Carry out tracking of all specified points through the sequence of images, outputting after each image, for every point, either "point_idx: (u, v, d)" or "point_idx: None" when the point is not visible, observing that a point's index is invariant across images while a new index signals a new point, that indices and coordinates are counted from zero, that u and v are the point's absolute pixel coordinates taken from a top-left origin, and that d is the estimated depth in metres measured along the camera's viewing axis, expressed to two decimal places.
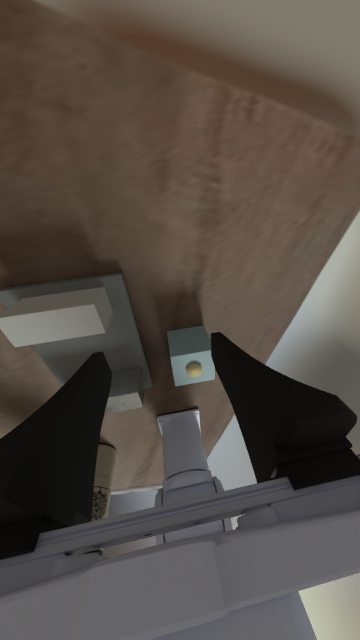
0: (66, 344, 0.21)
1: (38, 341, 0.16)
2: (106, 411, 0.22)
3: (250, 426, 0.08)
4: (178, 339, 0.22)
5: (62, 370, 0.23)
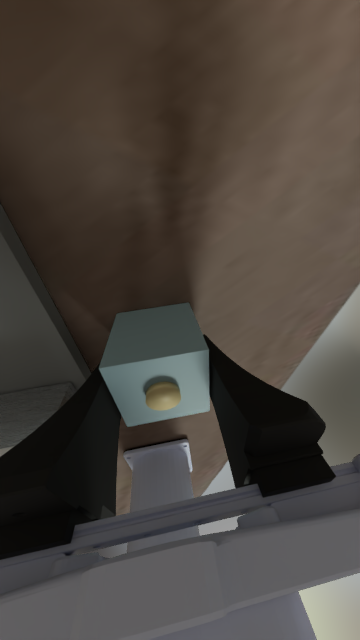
0: None
1: None
2: None
3: (227, 431, 0.08)
4: (132, 328, 0.10)
5: None
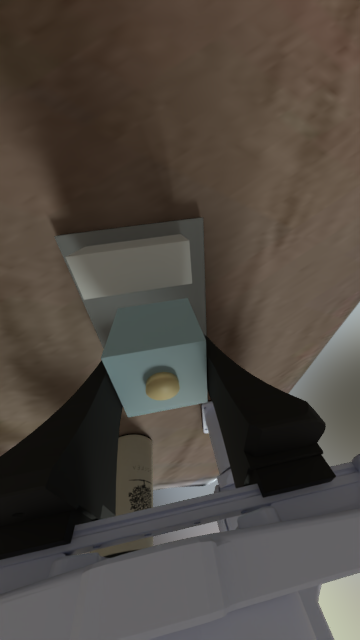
0: None
1: (112, 292, 0.13)
2: None
3: (227, 431, 0.08)
4: (133, 321, 0.11)
5: None
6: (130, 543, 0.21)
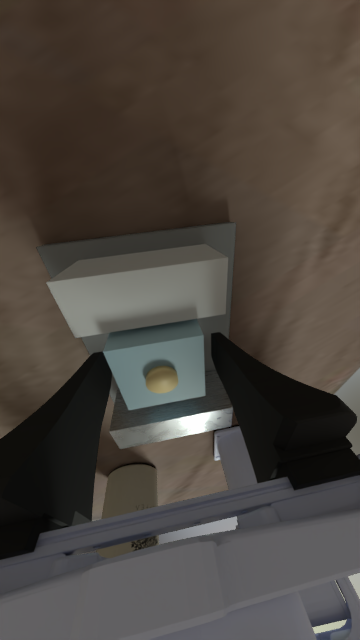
0: None
1: (116, 327, 0.09)
2: (181, 433, 0.15)
3: (250, 426, 0.08)
4: None
5: None
6: None
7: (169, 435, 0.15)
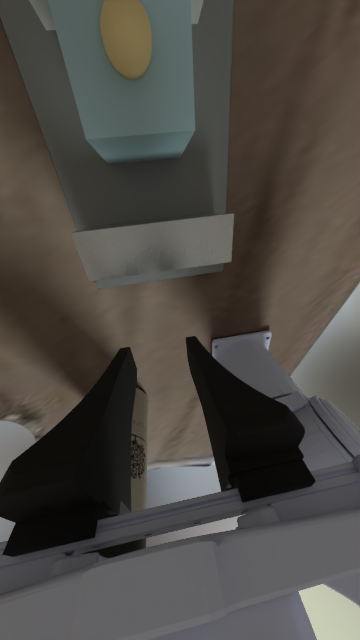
0: None
1: None
2: (168, 263, 0.12)
3: (213, 434, 0.08)
4: None
5: (86, 201, 0.13)
6: None
7: (152, 263, 0.12)
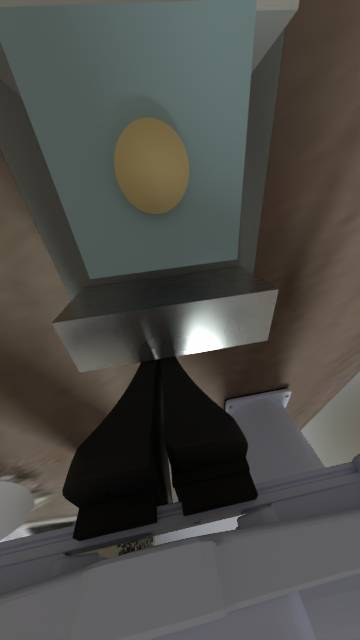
0: None
1: (37, 0, 0.04)
2: (185, 347, 0.09)
3: None
4: None
5: None
6: None
7: (164, 348, 0.09)
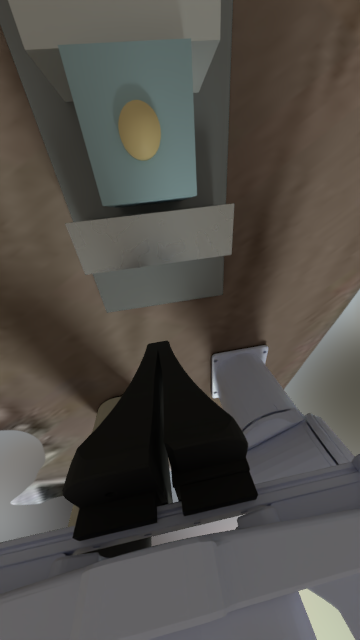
0: None
1: (77, 37, 0.07)
2: (166, 256, 0.12)
3: None
4: None
5: None
6: None
7: (150, 255, 0.12)
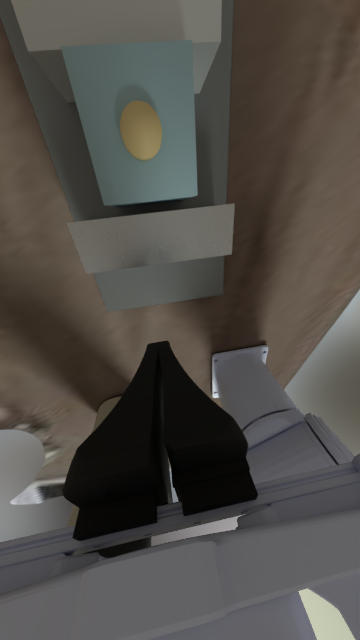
0: None
1: (80, 39, 0.07)
2: (167, 255, 0.12)
3: None
4: None
5: None
6: None
7: (150, 255, 0.12)
